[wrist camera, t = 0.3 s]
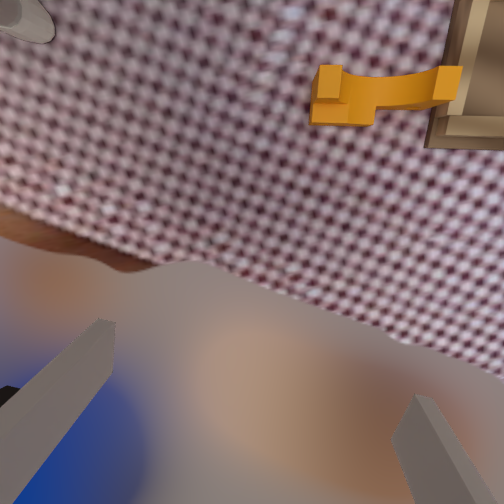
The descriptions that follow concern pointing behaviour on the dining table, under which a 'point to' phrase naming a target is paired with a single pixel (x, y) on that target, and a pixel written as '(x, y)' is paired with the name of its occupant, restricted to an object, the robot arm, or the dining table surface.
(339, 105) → the orange stepped block
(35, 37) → the soap bottle
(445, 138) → the tray
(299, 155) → the dining table surface
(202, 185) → the dining table surface
